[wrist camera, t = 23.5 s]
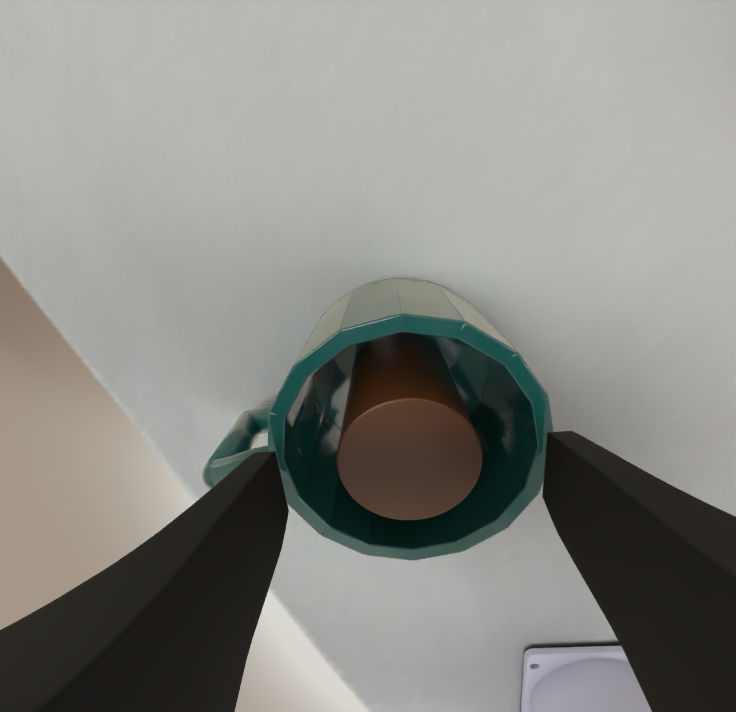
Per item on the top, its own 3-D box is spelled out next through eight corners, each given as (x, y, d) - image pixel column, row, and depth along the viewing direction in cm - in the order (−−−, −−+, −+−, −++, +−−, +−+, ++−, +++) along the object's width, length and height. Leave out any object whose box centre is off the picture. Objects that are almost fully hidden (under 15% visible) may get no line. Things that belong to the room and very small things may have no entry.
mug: (476, 253, 15) (533, 278, 9) (508, 430, 18) (567, 533, 12) (214, 326, 16) (125, 386, 11) (281, 479, 19) (238, 592, 13)
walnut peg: (448, 414, 17) (482, 517, 11) (357, 421, 17) (345, 524, 11) (445, 326, 15) (483, 392, 10) (346, 335, 16) (327, 404, 10)
